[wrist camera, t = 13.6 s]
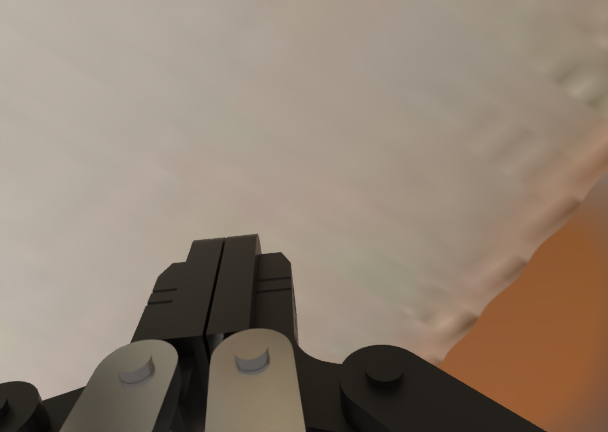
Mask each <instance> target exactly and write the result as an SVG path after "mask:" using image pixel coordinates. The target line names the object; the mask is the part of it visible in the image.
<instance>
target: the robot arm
mask: <svg viewBox="0 0 608 432" xmlns="http://www.w3.org/2000/svg"><path fill="white" fill-rule="evenodd" d="M147 303H148V306H146V307H145V310H144V312H143V314H142V317H141V319H140V321H139V324H138V326H137V328H136V331H135V333H134V336H133V338H132V340H131V343H130V344H128V345H125V346H123V347H121V348H119V349H117V350H115V351H114V352H112V353H111V354H109V355H108V356H107V357H106V358H105V359H103V361H102V362H101V363H100V364H99V365H98V367H97V368H96V369H95V371H94V373H93V375H92V376H91V378H90V380H89V381H88V383H87V385H86V386H84V387H82V388H79V389H76V390H73V391H70V392H67V393H64V394H61V395H58V396H55V397H52V398H49V399H46V400H44V401H42V399H41V397H40V395H39V392H38V390H37V388H36V387H35V386H34V385H32V384H30V383H27V382H22V381H13V382H6V383H1V384H0V432H546V431H544V430H543V429H541V428H539V427H538V426H536V425H534V424H532V423H531V422H529V421H527V420H526V419H524V418H522V417H520V416H519V415H517V414H516V413H514V412H512V411H510V410H509V409H507V408H505V407H504V406H502V405H500V404H498V403H497V402H495V401H493V400H492V399H490V398H488V397H486V396H485V395H483V394H481V393H480V392H478V391H476V390H474V389H473V388H471V387H469V386H468V385H466V384H464V383H463V382H461V381H459V380H458V379H456V378H454V377H452V376H451V375H449V374H447V373H446V372H444V371H442V370H441V369H439V368H437V367H436V366H434V365H432V364H430V363H429V362H427V361H425V360H424V359H422V358H420V357H419V356H417V355H415V354H413V353H412V352H410V351H408V350H406V349H403V348H400V347H396V346H391V345H373V346H368V347H364V348H361V349H359V350H357V351H355V352H353V353H352V354H350V355H349V356H348V357H347V358H346V359H345V360H344V362H343V363H342V364H336V363H330V362H325V361H321V360H318V359H315V358H313V357H311V356H309V355H308V354H306V353H305V352H304V351H303V350H302V349H301V348H300V347H299V345H298V328H297V314H296V305H295V296H294V288H293V279H292V270H291V263H290V262H289V260H288V259H287V258H286V257H285V256H284V255H283V254H282V253H281V252H278V253H268V254H261V247H260V241H259V236H258V234H253V235H243V236H233V237H227V238H225V237H224V238H214V239H204V240H195V241H193V243H192V246H191V249H190V252H189V255H188V257H187V260H186V262H180V263H172V264H171V265H170V266H169V267H168V268H167V269H166V270H165V271H164V272H163V273H162V274H161V275H160V276H158V279H157V281H156V284H155V286H154V288H153V293H152V294H151V295H150V298H149V300H148V302H147Z"/></svg>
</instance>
